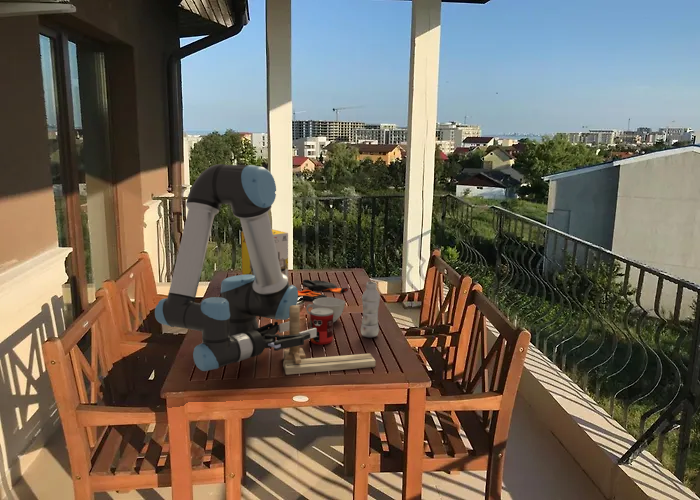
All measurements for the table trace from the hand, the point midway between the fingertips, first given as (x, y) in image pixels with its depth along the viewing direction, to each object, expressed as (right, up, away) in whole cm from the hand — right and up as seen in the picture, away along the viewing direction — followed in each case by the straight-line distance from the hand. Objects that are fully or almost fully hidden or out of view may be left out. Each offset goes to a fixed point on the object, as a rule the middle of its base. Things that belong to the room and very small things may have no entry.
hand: (305, 328), depth 170 cm
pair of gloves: (-3, +5, +78) cm, 78 cm away
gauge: (-3, -11, -3) cm, 12 cm away
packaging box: (-28, +9, +93) cm, 98 cm away
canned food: (+4, -7, +17) cm, 19 cm away
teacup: (+5, -3, +38) cm, 38 cm away
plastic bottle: (+21, -6, +22) cm, 31 cm away
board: (+8, -11, -5) cm, 15 cm away
